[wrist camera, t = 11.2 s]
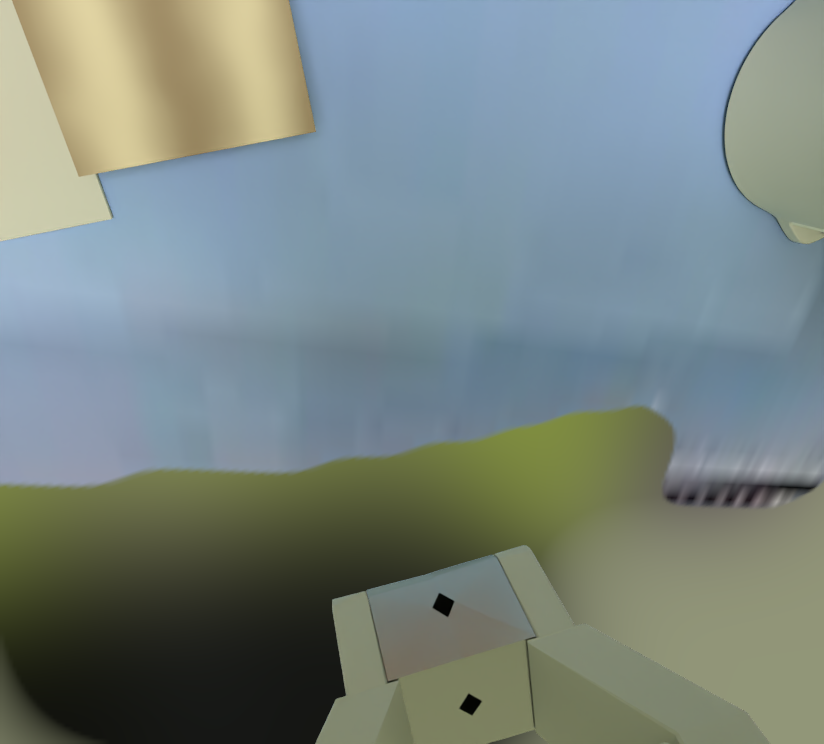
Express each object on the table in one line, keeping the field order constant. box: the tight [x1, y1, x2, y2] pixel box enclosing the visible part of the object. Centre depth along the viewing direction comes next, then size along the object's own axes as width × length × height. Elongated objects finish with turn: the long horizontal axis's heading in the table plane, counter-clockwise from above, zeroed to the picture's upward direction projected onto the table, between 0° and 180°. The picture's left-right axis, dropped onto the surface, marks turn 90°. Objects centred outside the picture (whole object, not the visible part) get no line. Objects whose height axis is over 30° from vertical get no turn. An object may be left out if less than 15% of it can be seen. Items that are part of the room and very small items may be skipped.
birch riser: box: [12, 0, 316, 177], centre depth 32 cm, size 12×14×4 cm
